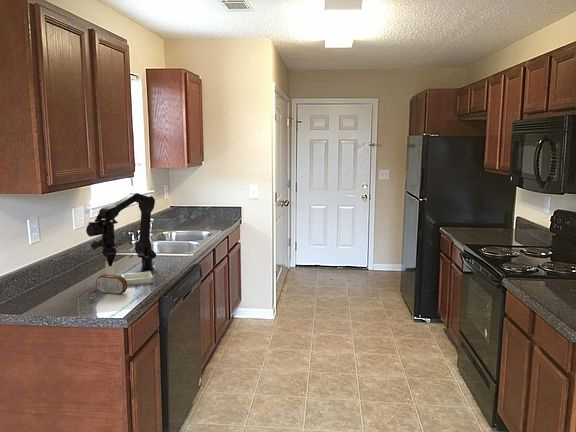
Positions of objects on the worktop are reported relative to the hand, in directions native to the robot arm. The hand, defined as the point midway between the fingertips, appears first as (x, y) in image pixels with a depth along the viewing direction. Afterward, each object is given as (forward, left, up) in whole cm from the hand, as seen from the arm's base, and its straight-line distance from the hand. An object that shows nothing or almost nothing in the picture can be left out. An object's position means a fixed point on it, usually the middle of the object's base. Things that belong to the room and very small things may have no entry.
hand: (110, 264), depth 235 cm
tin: (+25, 0, -8) cm, 26 cm away
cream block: (0, 0, -8) cm, 8 cm away
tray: (+10, +12, -8) cm, 17 cm away
